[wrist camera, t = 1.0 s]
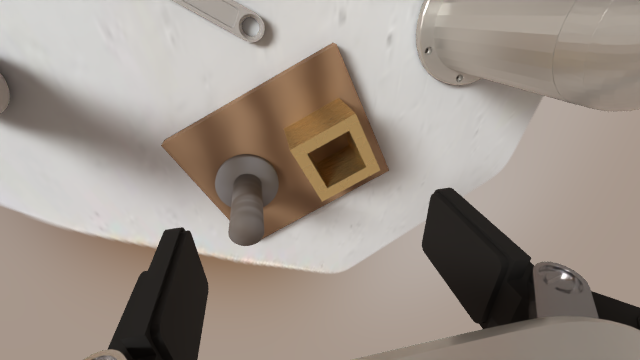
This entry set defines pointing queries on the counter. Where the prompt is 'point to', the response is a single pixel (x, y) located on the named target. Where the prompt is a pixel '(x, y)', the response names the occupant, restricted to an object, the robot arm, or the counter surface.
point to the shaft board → (268, 147)
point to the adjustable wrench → (225, 15)
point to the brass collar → (341, 165)
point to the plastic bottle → (4, 94)
